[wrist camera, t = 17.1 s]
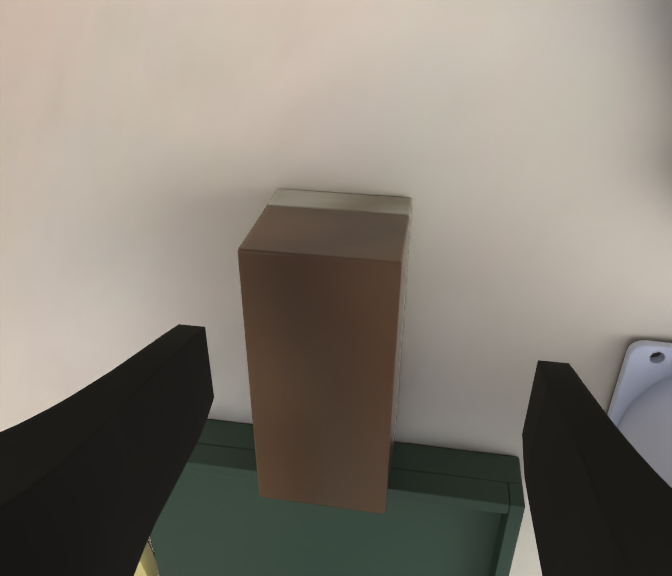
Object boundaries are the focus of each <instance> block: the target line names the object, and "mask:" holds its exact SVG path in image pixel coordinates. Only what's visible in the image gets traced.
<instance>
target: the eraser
mask: <svg viewBox="0 0 672 576" xmlns="http://www.w3.org/2000/svg"><path fill="white" fill-rule="evenodd" d="M411 210H412V198H406V197H391V196H376V195H361V194H346V193H331V192H316V191H301V190H286V189H277V190H276V192H275V194H274V195H273V197H272V198H271V200H270V201H269V203H268V204H267V206H266V208H265V209H264V211H263V212H262V214H261V215H260V217H259V218H258V220H257V221H256V223H255V224H254V226H253V227H252V229H251V230H250V232H249V234H248V235H247V237H246V238H245V240H244V241H243V243H242V244H241V246H240V247H239V249H238V260H239V271H240V282H241V294H242V305H243V316H244V328H245V339H246V350H247V362H248V373H249V384H250V396H251V407H252V419H253V430H254V441H255V453H256V464H257V475H258V487H259V496H260V497H264V498H271V499H278V500H285V501H293V502H300V503H307V504H314V505H321V506H328V507H336V508H343V509H350V510H357V511H364V512H371V513H379V514H385V512H386V504H387V496H388V487H389V479H390V471H391V462H392V454H393V445H394V437H395V428H396V417H397V403H398V389H399V376H400V362H401V348H402V334H403V320H404V307H405V293H406V279H407V265H408V251H409V238H410V224H411Z"/></svg>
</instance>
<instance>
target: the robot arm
mask: <svg viewBox="0 0 672 576" xmlns="http://www.w3.org/2000/svg"><path fill="white" fill-rule="evenodd" d="M655 352H661V354H660V355H659V356H657V357H651V354H653V353H655ZM213 399H214V393H213V386H212V378H211V370H210V362H209V355H208V347H207V339H206V331H205V327H200V326H190V325H180V324H179V325H177V326H176V327H174V328H173V329H171V330H170V331H168V332H167V333H165V334H164V335H162V336H161V337H159V338H158V339H156V340H155V341H154V342H152V343H151V344H149V345H148V346H147V347H145V348H144V349H142V350H141V351H139V352H138V353H137V354H135V355H134V356H132V357H131V358H129V359H128V360H126V361H125V362H123V363H122V364H121V365H119V366H118V367H116V368H115V369H113V370H112V371H110V372H109V373H107V374H106V375H104V376H102V377H101V378H99V379H98V380H96V381H94V382H93V383H91V384H90V385H88V386H86V387H85V388H83V389H82V390H80V391H78V392H77V393H75V394H74V395H72V396H70V397H69V398H67V399H65V400H63V401H62V402H60V403H58V404H56V405H55V406H53V407H51V408H49V409H47V410H45V411H43V412H41V413H39V414H37V415H36V416H34V417H32V418H30V419H28V420H26V421H24V422H22V423H20V424H18V425H15V426H13V427H11V428H9V429H6V430H4V431H2V432H0V576H134V574H135V572H136V569H137V566H138V564H139V561H140V559H141V556H142V554H143V551H144V549H145V546H146V544H147V541H148V539H149V537H150V534H151V532H152V530H153V528H154V526H155V524H156V522H157V520H158V518H159V516H160V514H161V512H162V510H163V508H164V506H165V504H166V502H167V500H168V498H169V497H170V495H171V493H172V491H173V489H174V487H175V485H176V483H177V481H178V479H179V477H180V475H181V474H182V472H183V470H184V468H185V466H186V464H187V462H188V460H189V458H190V456H191V454H192V452H193V450H194V448H195V446H196V444H197V442H198V440H199V438H200V436H201V433H202V431H203V428H204V425H205V423H206V420H207V417H208V414H209V411H210V408H211V405H212V402H213ZM522 439H523V460H524V475H525V483H526V489H527V494H528V500H529V505H530V511H531V516H532V522H533V527H534V532H535V538H536V543H537V549H538V554H539V559H540V565H541V570H542V575H543V576H672V343H668V342H658V341H647V340H640V341H636V342H633V343H632V344H631V345H629V347H628V349H627V351H626V355H625V358H624V361H623V364H622V368H621V371H620V374H619V378H618V381H617V384H616V387H615V391H614V394H613V397H612V400H611V404H610V407H609V410H608V413H607V414H606V413H605V411H604V410H603V409H602V407H601V406H600V405H599V403H598V402H597V401H596V399H595V398H594V397H593V395H592V394H591V393H590V391H589V390H588V389H587V387H586V386H585V384H584V383H583V382H582V380H581V379H580V378H579V376H578V375H577V373H576V372H575V371H574V369H573V368H572V367H571V366H570V364H569V363H559V362H549V361H539V360H538V363H537V368H536V372H535V377H534V382H533V386H532V391H531V396H530V400H529V405H528V409H527V414H526V419H525V423H524V428H523V433H522Z"/></svg>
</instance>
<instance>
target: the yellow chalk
mask: <svg viewBox="0 0 672 576" xmlns="http://www.w3.org/2000/svg"><path fill="white" fill-rule="evenodd" d="M158 574H159V571H158V567H157V563H156V559H155V556H154V554H153V552H152V550H151V547H150V545H149V543H148V541H147V544H146V546H145V549H144V551H143V554H142V556H141V559H140V561H139V564H138V566H137V569H136V572H135V574H134V576H158Z"/></svg>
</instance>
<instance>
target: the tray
mask: <svg viewBox="0 0 672 576" xmlns="http://www.w3.org/2000/svg"><path fill="white" fill-rule="evenodd" d="M524 509H525V503H524V494H523V486H522V479H521V470H520V462H519V458H518V457H512V456H504V455H495V454H487V453H479V452H471V451H463V450H454V449H446V448H438V447H430V446H422V445H414V444H405V443H397V442H394V445H393V454H392V462H391V471H390V479H389V487H388V496H387V504H386V512H385V514H379V513H371V512H364V511H357V510H350V509H343V508H336V507H328V506H321V505H314V504H307V503H300V502H293V501H285V500H278V499H271V498H264V497H260V496H259V487H258V475H257V464H256V453H255V441H254V430H253V425H250V424H242V423H234V422H225V421H217V420H209V419H207V420H206V423H205V425H204V428H203V431H202V433H201V436H200V438H199V440H198V442H197V444H196V446H195V448H194V450H193V452H192V454H191V456H190V458H189V460H188V462H187V464H186V466H185V468H184V470H183V472H182V474H181V475H180V477H179V479H178V481H177V483H176V485H175V487H174V489H173V491H172V493H171V495H170V497H169V498H168V500H167V502H166V504H165V506H164V508H163V510H162V512H161V514H160V516H159V518H158V520H157V522H156V524H155V526H154V528H153V530H152V532H151V534H150V537H151V542H152V546H153V550H154V554H155V559H156V563H157V567H158V571H159V576H509V572H510V568H511V564H512V560H513V555H514V551H515V547H516V543H517V539H518V534H519V530H520V526H521V522H522V518H523V513H524Z"/></svg>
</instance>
